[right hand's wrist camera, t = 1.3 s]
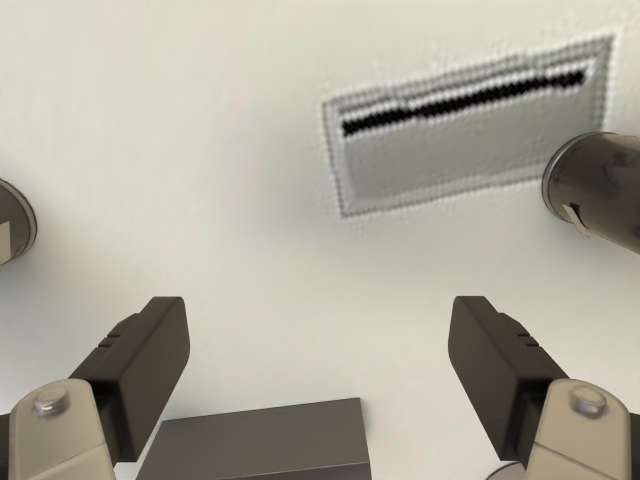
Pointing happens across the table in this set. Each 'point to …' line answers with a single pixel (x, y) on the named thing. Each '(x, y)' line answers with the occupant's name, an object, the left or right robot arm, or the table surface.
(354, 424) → the bar
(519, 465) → the bust sculpture
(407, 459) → the table surface
